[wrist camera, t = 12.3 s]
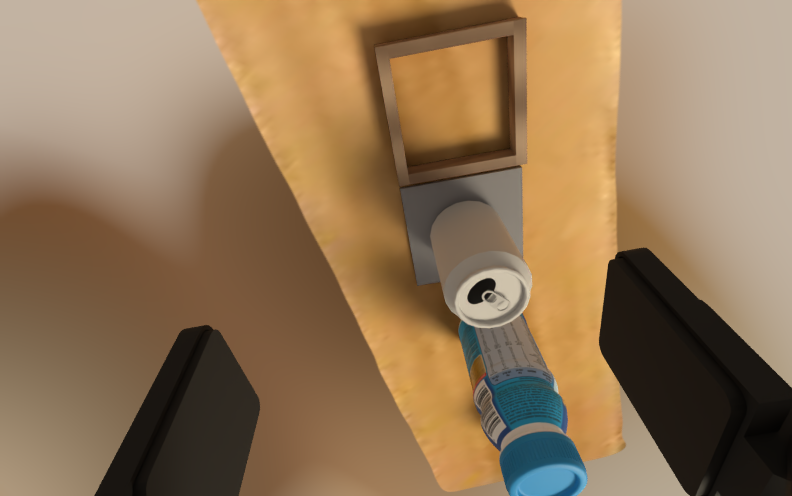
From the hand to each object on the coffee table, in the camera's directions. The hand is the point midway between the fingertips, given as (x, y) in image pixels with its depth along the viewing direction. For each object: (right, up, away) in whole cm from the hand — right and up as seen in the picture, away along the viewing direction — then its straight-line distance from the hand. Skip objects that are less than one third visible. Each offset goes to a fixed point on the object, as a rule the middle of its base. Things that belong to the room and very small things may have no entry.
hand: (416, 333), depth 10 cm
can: (+7, +4, +34) cm, 35 cm away
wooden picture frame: (+5, +15, +27) cm, 32 cm away
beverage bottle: (+11, -7, +42) cm, 44 cm away
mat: (+7, +4, +34) cm, 35 cm away
